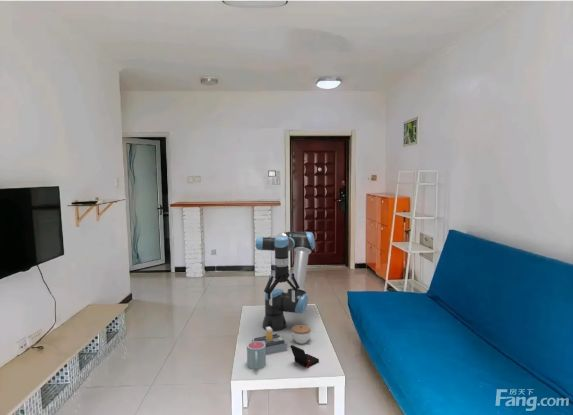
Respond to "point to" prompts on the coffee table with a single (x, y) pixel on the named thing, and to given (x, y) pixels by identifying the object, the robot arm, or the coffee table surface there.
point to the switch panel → (273, 344)
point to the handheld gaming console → (303, 357)
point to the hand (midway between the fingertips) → (282, 303)
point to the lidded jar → (301, 333)
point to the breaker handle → (269, 335)
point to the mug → (256, 355)
